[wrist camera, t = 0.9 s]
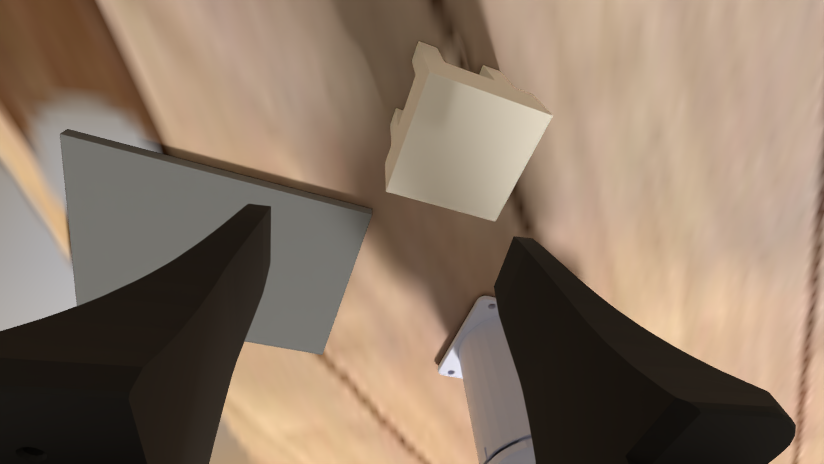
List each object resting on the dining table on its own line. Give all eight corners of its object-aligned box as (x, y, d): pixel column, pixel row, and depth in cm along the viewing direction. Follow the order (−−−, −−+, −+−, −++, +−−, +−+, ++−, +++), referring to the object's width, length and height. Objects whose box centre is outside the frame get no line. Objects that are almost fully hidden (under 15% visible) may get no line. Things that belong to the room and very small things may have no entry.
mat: (372, 209, 24) (372, 214, 24) (323, 347, 30) (322, 354, 30) (67, 129, 20) (59, 133, 20) (83, 305, 27) (77, 312, 26)
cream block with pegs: (507, 68, 20) (552, 115, 15) (467, 154, 23) (495, 221, 17) (415, 33, 19) (429, 71, 14) (383, 128, 21) (385, 191, 16)
